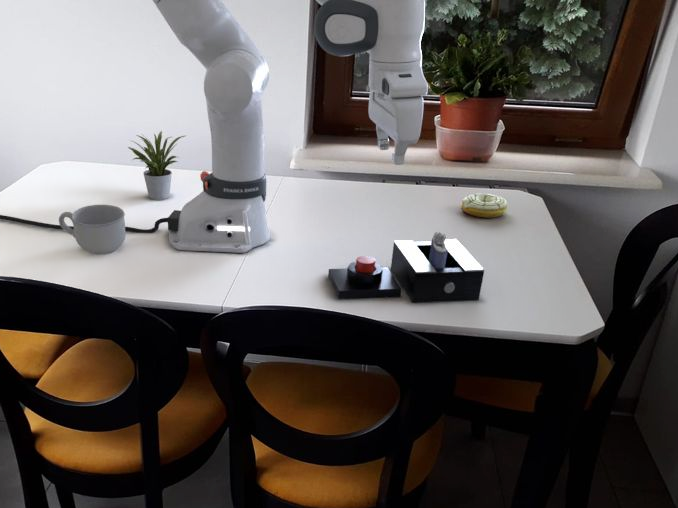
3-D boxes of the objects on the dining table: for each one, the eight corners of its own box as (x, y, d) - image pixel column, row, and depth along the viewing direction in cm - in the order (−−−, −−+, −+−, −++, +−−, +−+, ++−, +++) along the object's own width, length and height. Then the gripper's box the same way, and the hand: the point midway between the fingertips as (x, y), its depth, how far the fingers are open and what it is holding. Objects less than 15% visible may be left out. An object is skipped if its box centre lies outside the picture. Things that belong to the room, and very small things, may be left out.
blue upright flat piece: (441, 295, 134) (449, 242, 129) (426, 294, 134) (433, 241, 129) (438, 275, 142) (446, 225, 136) (424, 274, 142) (431, 223, 137)
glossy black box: (413, 304, 130) (417, 273, 127) (390, 269, 144) (393, 240, 140) (487, 302, 132) (493, 271, 129) (458, 267, 145) (462, 238, 142)
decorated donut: (463, 203, 181) (465, 188, 179) (506, 208, 178) (509, 193, 176) (458, 216, 172) (461, 201, 170) (504, 221, 169) (507, 206, 167)
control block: (338, 299, 131) (339, 280, 129) (328, 277, 140) (329, 258, 138) (400, 297, 133) (402, 278, 131) (386, 275, 141) (388, 256, 139)
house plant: (176, 183, 189) (173, 121, 181) (199, 198, 179) (197, 133, 171) (126, 191, 182) (120, 127, 174) (147, 207, 172) (142, 140, 164)
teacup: (136, 243, 153) (133, 208, 148) (110, 262, 144) (106, 225, 140) (80, 234, 156) (76, 199, 152) (52, 252, 147) (46, 215, 143)
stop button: (357, 274, 133) (358, 263, 132) (353, 266, 136) (354, 256, 135) (376, 273, 133) (377, 263, 132) (371, 265, 136) (372, 255, 135)
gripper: (361, 67, 130) (359, 142, 137) (393, 89, 112) (389, 174, 120) (394, 64, 130) (390, 139, 138) (431, 86, 113) (425, 171, 120)
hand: (390, 156), depth 129 cm, fingers open, 8 cm apart
